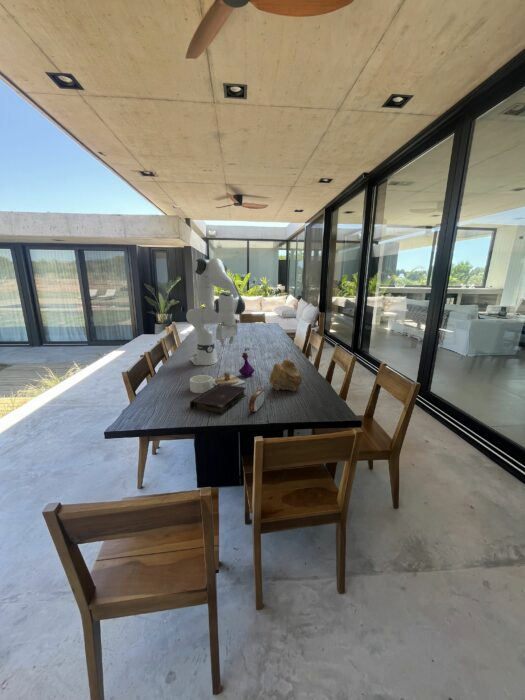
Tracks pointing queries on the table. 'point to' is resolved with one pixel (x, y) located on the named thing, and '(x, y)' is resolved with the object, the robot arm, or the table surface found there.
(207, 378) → the bowl
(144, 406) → the table surface
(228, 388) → the diary
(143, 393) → the table surface
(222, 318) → the robot arm
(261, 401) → the tin
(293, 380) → the rough brown rock
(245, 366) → the perfume bottle
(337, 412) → the table surface
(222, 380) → the lid
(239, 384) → the trivet
